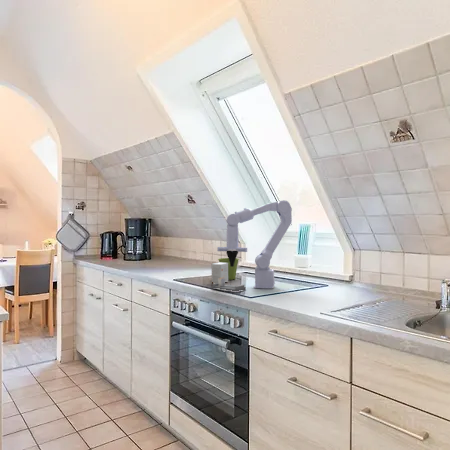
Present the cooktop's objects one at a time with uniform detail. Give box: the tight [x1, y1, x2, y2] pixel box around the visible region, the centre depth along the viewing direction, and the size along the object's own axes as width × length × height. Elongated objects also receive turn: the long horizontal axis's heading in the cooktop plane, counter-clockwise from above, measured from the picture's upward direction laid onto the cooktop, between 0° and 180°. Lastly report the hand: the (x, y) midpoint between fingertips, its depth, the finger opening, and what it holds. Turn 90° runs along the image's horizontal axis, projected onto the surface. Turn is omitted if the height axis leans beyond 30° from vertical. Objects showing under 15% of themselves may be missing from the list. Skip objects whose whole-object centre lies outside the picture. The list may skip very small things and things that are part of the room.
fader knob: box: [218, 277, 226, 286], centre depth 200 cm, size 2×3×4 cm, turn 142°
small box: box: [211, 261, 229, 283], centre depth 216 cm, size 8×6×10 cm
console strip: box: [211, 283, 247, 291], centre depth 197 cm, size 14×8×3 cm, turn 52°
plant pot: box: [217, 257, 240, 281], centre depth 230 cm, size 12×12×11 cm
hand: (232, 266), depth 204 cm, fingers closed
